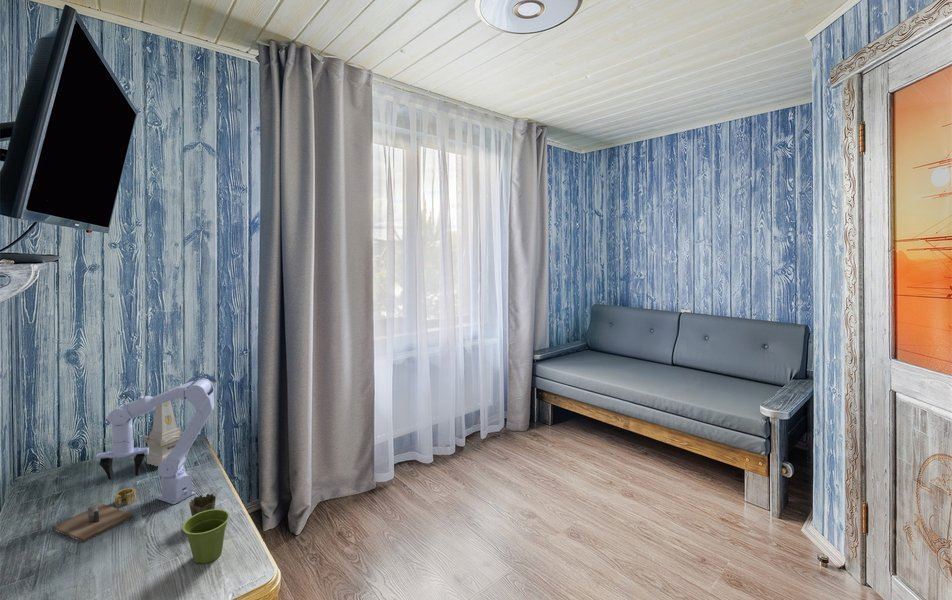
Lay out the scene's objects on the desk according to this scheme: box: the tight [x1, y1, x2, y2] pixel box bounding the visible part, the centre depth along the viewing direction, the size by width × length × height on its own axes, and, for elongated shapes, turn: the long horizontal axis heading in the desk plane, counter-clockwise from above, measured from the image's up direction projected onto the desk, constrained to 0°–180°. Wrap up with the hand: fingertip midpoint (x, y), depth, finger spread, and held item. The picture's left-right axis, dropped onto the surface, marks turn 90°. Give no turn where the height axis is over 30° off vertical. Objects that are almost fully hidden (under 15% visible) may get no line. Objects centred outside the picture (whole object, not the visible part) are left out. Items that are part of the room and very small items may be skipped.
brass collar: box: [114, 487, 137, 507], centre depth 156 cm, size 6×6×4 cm
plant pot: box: [181, 508, 230, 564], centre depth 129 cm, size 12×12×11 cm
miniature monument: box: [143, 400, 184, 467], centre depth 185 cm, size 10×10×30 cm
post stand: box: [51, 503, 134, 542], centre depth 143 cm, size 16×14×6 cm
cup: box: [189, 493, 217, 517], centre depth 145 cm, size 8×7×8 cm
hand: (124, 476), depth 155 cm, fingers open, 7 cm apart
